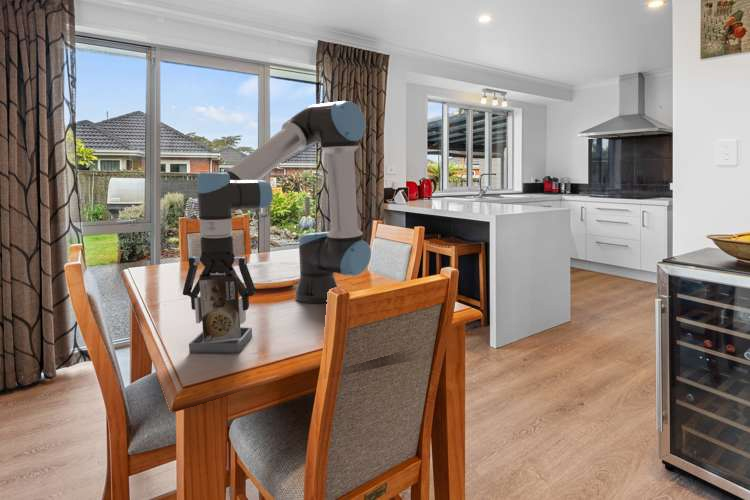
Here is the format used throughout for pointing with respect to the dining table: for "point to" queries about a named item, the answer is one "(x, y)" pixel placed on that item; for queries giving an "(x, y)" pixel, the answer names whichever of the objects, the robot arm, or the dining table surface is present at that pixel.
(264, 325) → the dining table surface
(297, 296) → the robot arm
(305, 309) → the dining table surface
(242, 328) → the tray
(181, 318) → the dining table surface
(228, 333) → the coffee box
